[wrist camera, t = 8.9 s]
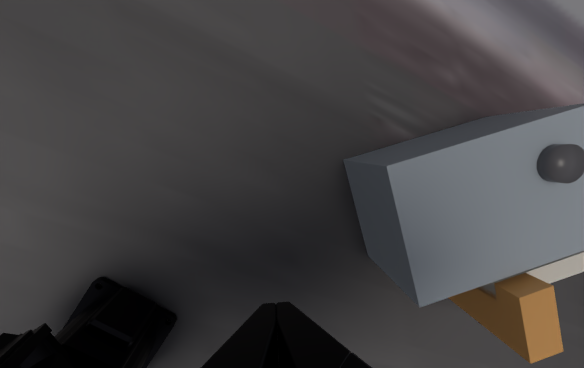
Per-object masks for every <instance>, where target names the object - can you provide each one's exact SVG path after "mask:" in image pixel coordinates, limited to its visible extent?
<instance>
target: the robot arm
mask: <svg viewBox="0 0 584 368" xmlns="http://www.w3.org/2000/svg"><path fill="white" fill-rule="evenodd" d="M98 283H101V284H102V285H103V287H100V286H99V285H98ZM276 315H277V317H276ZM167 319H171V320H172V322H168V321H167ZM176 321H177V317H176V315H175V314H174V313H172V312H170V311H168V310H166V309H164V308H162V307H160V306H158V305H157V304H155V302H153V301H151V300H149V299H147V298H145V297H143V296H141V295H139V294H137V293H136V292H134V291H132V290H130V289H128V288H126V287H122V286H120V285H118V284H116V283H114V282H112V281H111V280H109V279H107V278H104V277H99V278H97V279H96V280H95V281H94V282H93V283H92V284H91V286H90V287H89V289H88V290H87V292H86V294H85V295H84V297H83V298H82V300H81V301H80V303H79V304H78V306H77V308H76V309H75V311H74V312H73V314H72V315H71V317H70V319H69V320H68V322H67V323H66V325H65V326H64V328H63V329H62V330H61V331H60V332H59V333H58V334H57V335H56V336H55V337H54V336H53V335H52V334H51V333H50V332H51V331H52V330H51V329H50V328H49V327H48V325H47V324H46V323H45V324H43V325H41V326H40V327H38V328H37V329H35V330H33V331H32V330H29V331H27V332H25V333H24V334H20V335H15V334H7V333H3V334H1V335H0V368H146V367H147V366H148V364H149V363H150V361H151V360H152V358H153V357H154V355H155V354H156V352H157V351H158V349H159V348H160V346H161V345H162V343H163V342H164V340H165V339H166V337H167V336H168V334H169V333H170V331H171V330H172V328H173V327H174V325H175V323H176ZM277 335H278V337H277ZM278 355H279V358H278ZM201 368H372V367H371V366H369V365H368V364H367V363H365V362H364V361H363V360H361V359H360V358H359V357H358V356H356V355H355V354H354V353H351V351H349V350H348V349H347V348H346V347H344V346H343V345H342V344H341V343H339V342H338V341H337V340H336V339H335V338H333V337H332V336H331V335H330V334H328V333H327V332H326V331H325V330H323V329H322V328H321V327H320V326H319V325H317V324H316V323H315V322H314V321H312V320H311V319H310V318H309V317H307V316H306V315H305V314H304V313H302V312H301V311H300V310H299V309H298V308H296V307H295V306H294V305H293V304H291V303H290V302H278V303H277V304H275V303H266V304H262V305H261V306H260V307H259V308H258V309H257V310H256V311H255V312H254V313H253V314H252V315H251V316H250V317H249V318H248V319H247V320H246V322H245V323H244V324H243V325H242V326H241V327H240V328H239V329H238V330H237V331H236V332H235V333H234V334H233V335H232V336H231V337H230V338H229V339H228V340H227V341H226V342H225V343H224V344H223V345H222V346H221V347H220V348H219V350H218V351H217V352H216V353H215V354H214V355H213V356H212V357H211V358H210V359H209V360H208V361H207V362H206V363H205V364H204V365H203V366H202V367H201Z"/></svg>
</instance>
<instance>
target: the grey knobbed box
mask: <svg viewBox="0 0 584 368" xmlns="http://www.w3.org/2000/svg"><path fill="white" fill-rule="evenodd" d="M343 161H344V165H345V169H346V173H347V177H348V181H349V185H350V189H351V192H352V196H353V200H354V204H355V208H356V212H357V216H358V219H359V223H360V227H361V231H362V235H363V239H364V243H365V246H366V250H367V254H368V256H369V257H370V258H371V259H372V260H373V261H374V262H375V263H376V264H377V265H378V266H379V267H380V268H381V269H382V270H383V271H384V272H385V273H386V274H387V275H388V276H389V277H390V278H391V279H392V280H393V281H394V282H395V283H396V284H397V285H398V286H399V287H400V288H401V289H402V290H403V291H404V292H405V293H406V294H407V295H408V296H409V297H410V298H411V299H412V300H413V301H414V302H415V303H416V304H417V305H418V306H419V307H423V306H426V305H428V304H431V303H434V302H437V301H440V300H443V299H446V298H449V297H452V296H454V295H457V294H460V293H463V292H466V291H469V290H472V289H475V288H477V287H480V286H483V285H486V284H489V283H492V282H495V281H498V280H500V279H503V278H506V277H509V276H512V275H515V274H518V273H521V272H523V271H526V270H529V269H532V268H535V267H538V266H541V265H544V264H546V263H549V262H552V261H555V260H558V259H561V258H564V257H567V256H570V255H572V254H575V253H578V252H581V251H584V104H576V105H569V106H562V107H554V108H547V109H540V110H532V111H525V112H518V113H510V114H503V115H496V116H488V117H484V118H480V119H477V120H474V121H470V122H467V123H464V124H461V125H457V126H454V127H451V128H447V129H444V130H441V131H437V132H434V133H431V134H427V135H424V136H421V137H417V138H414V139H411V140H407V141H404V142H401V143H397V144H394V145H391V146H387V147H384V148H381V149H378V150H374V151H371V152H368V153H364V154H361V155H358V156H354V157H351V158H348V159H344V160H343Z"/></svg>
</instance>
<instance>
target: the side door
mask: <svg viewBox="0 0 584 368" xmlns="http://www.w3.org/2000/svg"><path fill="white" fill-rule="evenodd" d="M581 272H584V251H581V252H578V253H575V254H572V255H570V256H567V257H564V258H561V259H558V260H555V261H552V262H549V263H546V264H544V265H541V266H538V267H535V268H532V269H529V270H526V271H523V272H521V273H518V274H515V275H512V276H509V277H506V278H503V279H500V280H498V281H495V282H492V283H489V284H486V285H483V286H480V287H477V288H475V289H472V290H469V291H466V292H463V293H460V294H457V295H454V296H452V297H449V299H450V300H451V301H453V302H454V303H455V304H456V305H458V306H459V307H460V308H461V309H463V310H464V311H465V312H466V313H468V314H469V315H470V316H472V317H473V318H474V319H475V320H477V321H478V322H479V323H480V324H482V325H483V326H484V327H485V328H487V329H488V330H489V331H490V332H492V333H493V334H494V335H495V336H497V337H498V338H499V339H500V340H502V341H503V342H504V343H505V344H507V345H508V346H509V347H510V348H512V349H513V350H514V351H515V352H517V353H518V354H519V355H520V356H522V357H523V358H524V359H525V360H527V361H528V362H529V363H530V364H531V363H534V362H536V361H539V360H542V359H544V358H547V357H550V356H552V355H555V354H558V353H560V352H563V346H562V339H561V332H560V326H559V319H558V313H557V306H556V299H555V293H554V286H553V285H550V283H553V282H555V281H558V280H561V279H564V278H567V277H570V276H572V275H575V274H578V273H581Z"/></svg>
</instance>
